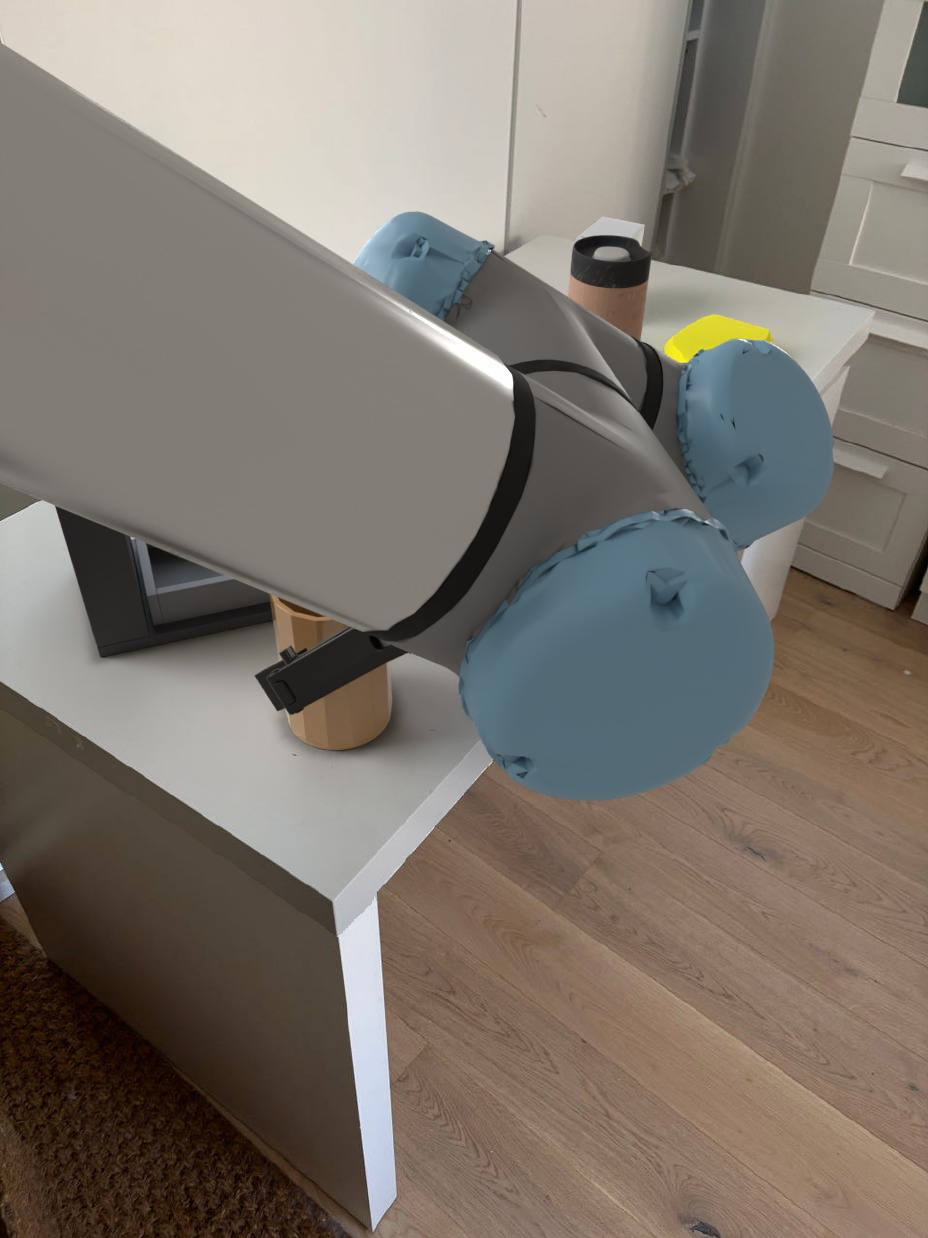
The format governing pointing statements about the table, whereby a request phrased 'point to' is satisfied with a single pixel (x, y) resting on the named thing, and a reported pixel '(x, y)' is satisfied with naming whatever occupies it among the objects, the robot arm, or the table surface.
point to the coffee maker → (151, 590)
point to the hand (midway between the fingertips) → (347, 638)
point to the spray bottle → (711, 336)
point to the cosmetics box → (614, 229)
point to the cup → (348, 709)
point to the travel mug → (611, 280)
